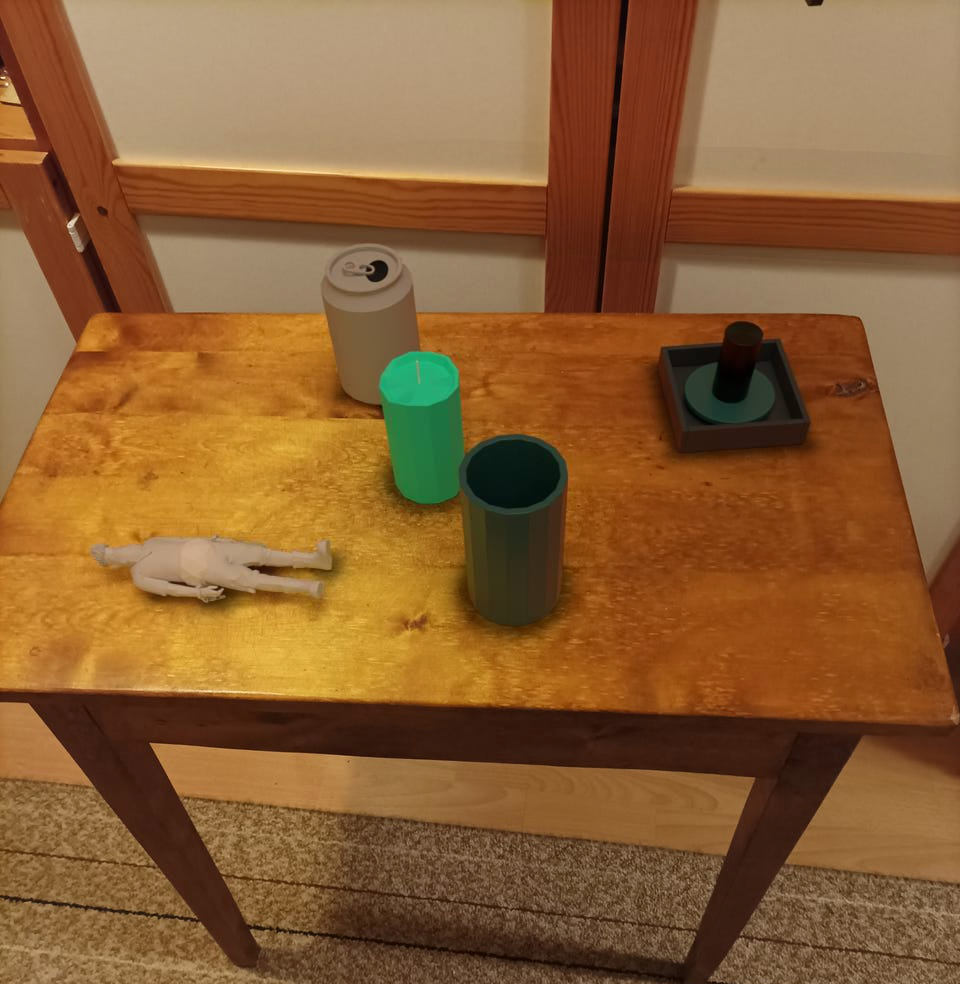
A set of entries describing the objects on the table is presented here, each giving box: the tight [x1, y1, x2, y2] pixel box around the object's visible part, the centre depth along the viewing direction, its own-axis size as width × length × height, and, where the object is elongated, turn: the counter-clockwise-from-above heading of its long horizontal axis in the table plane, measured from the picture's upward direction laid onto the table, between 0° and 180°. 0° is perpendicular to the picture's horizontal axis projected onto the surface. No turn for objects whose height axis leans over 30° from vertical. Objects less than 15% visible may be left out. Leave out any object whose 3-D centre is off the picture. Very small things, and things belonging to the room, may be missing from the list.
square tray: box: [657, 337, 812, 454], centre depth 78 cm, size 10×10×2 cm
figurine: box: [88, 534, 333, 603], centre depth 69 cm, size 7×4×18 cm
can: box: [320, 242, 422, 406], centre depth 77 cm, size 8×8×12 cm
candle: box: [379, 351, 466, 505], centre depth 70 cm, size 6×6×12 cm
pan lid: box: [684, 320, 775, 425], centre depth 75 cm, size 8×8×7 cm
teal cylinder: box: [459, 433, 569, 627], centre depth 64 cm, size 7×7×12 cm
